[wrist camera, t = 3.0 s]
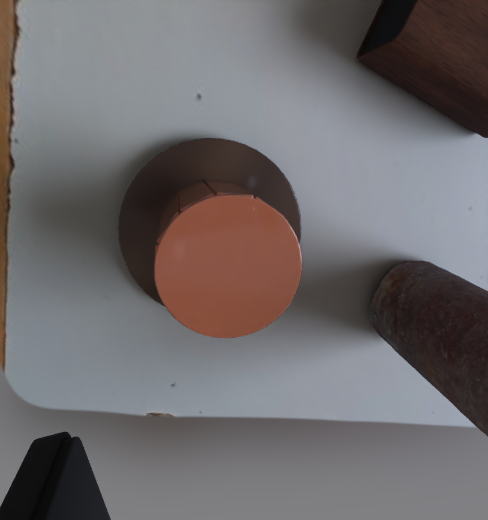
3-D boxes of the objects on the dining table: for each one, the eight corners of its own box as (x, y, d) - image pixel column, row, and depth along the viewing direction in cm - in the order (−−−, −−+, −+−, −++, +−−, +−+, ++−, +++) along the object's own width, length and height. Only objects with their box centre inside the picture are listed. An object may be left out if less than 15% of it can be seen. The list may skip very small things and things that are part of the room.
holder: (85, 255, 28) (43, 305, 19) (186, 98, 27) (192, 72, 18) (233, 340, 32) (256, 415, 23) (329, 207, 30) (395, 231, 21)
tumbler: (139, 248, 28) (124, 292, 19) (199, 158, 27) (210, 162, 18) (226, 300, 30) (247, 362, 21) (284, 219, 29) (330, 249, 20)
